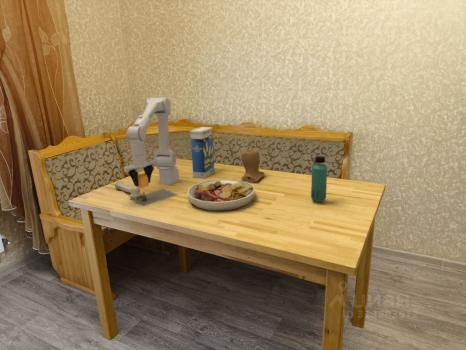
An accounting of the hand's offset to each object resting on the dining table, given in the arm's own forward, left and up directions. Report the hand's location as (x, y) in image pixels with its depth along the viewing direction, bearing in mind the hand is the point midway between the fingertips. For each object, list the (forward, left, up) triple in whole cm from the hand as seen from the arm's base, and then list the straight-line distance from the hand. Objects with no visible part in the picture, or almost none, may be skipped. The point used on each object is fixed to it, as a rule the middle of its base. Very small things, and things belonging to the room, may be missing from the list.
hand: (142, 184), depth 148 cm
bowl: (-25, +24, -9) cm, 36 cm away
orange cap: (0, 0, -1) cm, 1 cm away
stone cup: (-56, +14, -9) cm, 58 cm away
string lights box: (-44, -11, -9) cm, 46 cm away
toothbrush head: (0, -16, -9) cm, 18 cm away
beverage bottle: (-50, +58, -9) cm, 77 cm away
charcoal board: (-5, 0, -8) cm, 10 cm away
